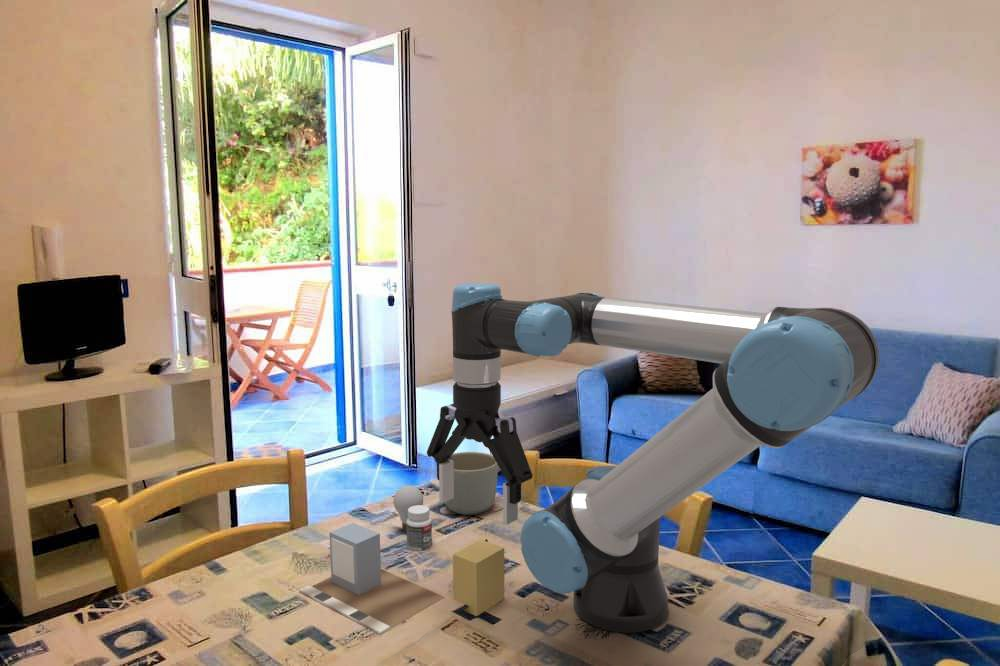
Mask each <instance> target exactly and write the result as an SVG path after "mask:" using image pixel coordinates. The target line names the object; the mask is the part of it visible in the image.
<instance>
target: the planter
mask: <svg viewBox="0 0 1000 666" xmlns="http://www.w3.org/2000/svg"><path fill="white" fill-rule="evenodd" d="M451 457H452V458H450V459H448V461H449V460H452V461H454V498H453V499H451V500H448V501H446V502H444V504H445V505H446V507H447V508H448V509H449V510H451V511H452V512H453V513H456V514H459V515H461V516H474V515H480V514H482V513H484V512H486V511H488V510H489V509H490V508H491V507H492V506H493V504H494V502H495V499H496V494H497V485H498V484H497V483H498V470H499V466H498V464H497V463H496V461H495V459H494V457H493V456H492V454H491V453H490V454H489V453H485V452H478V451H463V452H454V453H453V454H452V456H451Z"/></svg>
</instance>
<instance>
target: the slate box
mask: <svg viewBox="0 0 1000 666" xmlns="http://www.w3.org/2000/svg"><path fill="white" fill-rule="evenodd" d="M328 534H329V554H330V577H331V580H332V583H335V584H337V585H339V586H341V587H343V588H345V589H347V590H349V591H351V592H353V593H355V594H357V595H360V594H362V593H364V592H366V591H368V590H370V589H372V588H374V587H375V586H377V585H379V584H381V569H382V562H381V561H382V560H381V559H382V557H381V534H380V533H379V532H376V531H374V530H372V529H369V528H367V527H364V526H362V525H359V524H356V523H354V522H351V523H348V524H346V525H343V526H342V527H341V526H340V527H339V528H336V529H334V530H332V531H329V533H328Z"/></svg>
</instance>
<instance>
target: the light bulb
mask: <svg viewBox="0 0 1000 666" xmlns="http://www.w3.org/2000/svg"><path fill="white" fill-rule="evenodd" d="M392 503H393V506H394V509H395V510H396V512H397V514H398V515H399V518H400V521H401V525H402V526H401V527H402V528H401V529H402V530H403V531H404V532H407V526H406V522H407V519H408V518H409V517H408V509H409V508H410V507H412V506H416V505H423V504H424V496H423V493H422V491H421V490H420V489H419V488H418V487H417V486H414V485H411V484H410V485H407V484H406V485H404V486H401V487H400V488H398V489H397V490H396V492H395V494H394V496H393V502H392ZM423 506H424V505H423Z"/></svg>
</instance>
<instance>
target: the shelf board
mask: <svg viewBox="0 0 1000 666" xmlns="http://www.w3.org/2000/svg"><path fill="white" fill-rule="evenodd" d="M298 593H300V594H302V595H304V596H306V597H308V598H309V599H311V600H313V601H314V602H316V603H319V604H320V605H322V606H324V607H326V608H328V609H330V610H332V611H334V612H336V613H338V614H339V615H341V616H343V617H345V618H347V619H349V620H351V621H353V622H355V623H357V624H359V625H360V626H362V627H364V628H366V629H368V630H370V631H372V632H374V633H375V634H378V635H379V636H380V635H383V634H385V633H386V632H387V631H390V630H391V629H393V628H395V627H396V626H398V625H400V624H402V623H403V622H405V621H407V620H408V619H410V618H412V617H414V616H415V615H417V614H419V613H420V612H423V611H424V610H425V609H428V608H429V607H431V606H433V605H434V604H437V602H439V601H441V600H443V599H444V598H445V596H444V595H441V594H438V593H437V592H434V591H433V590H430V589H427V588H425V587H423V586H421V585H418V584H416V583H414V582H412V581H409V580H407V579H405V578H403V577H401V576H398V575H396V574H394V573H392V572H389V571H387V570H385V569H382V568H381V584H379V585H377V586H375V587H374V588H372V589H370V590H368V591H366V592H364V593H362V594H360V595H357V594H355V593H353V592H351V591H349V590H347V589H345V588H343V587H341V586H339V585H337V584H335V583H332V580H331V576H329V577H328V578H326V579H324V580H322V581H319V582H318V583H316V584H313V585H310V584H308V585H307V586H304V587H302V588H300V589H299V590H298Z"/></svg>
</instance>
